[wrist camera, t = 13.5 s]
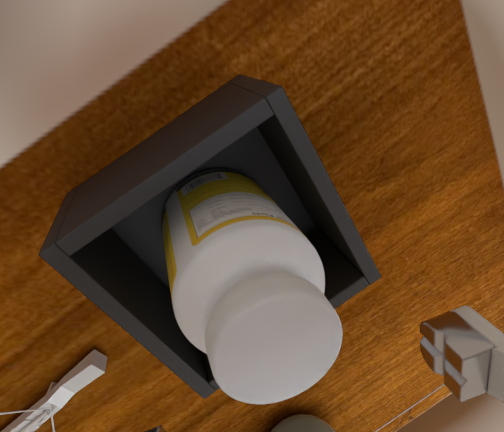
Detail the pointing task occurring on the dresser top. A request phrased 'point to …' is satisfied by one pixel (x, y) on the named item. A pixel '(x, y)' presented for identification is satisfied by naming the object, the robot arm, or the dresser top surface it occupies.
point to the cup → (303, 424)
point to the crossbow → (59, 394)
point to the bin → (159, 190)
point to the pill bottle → (247, 288)
